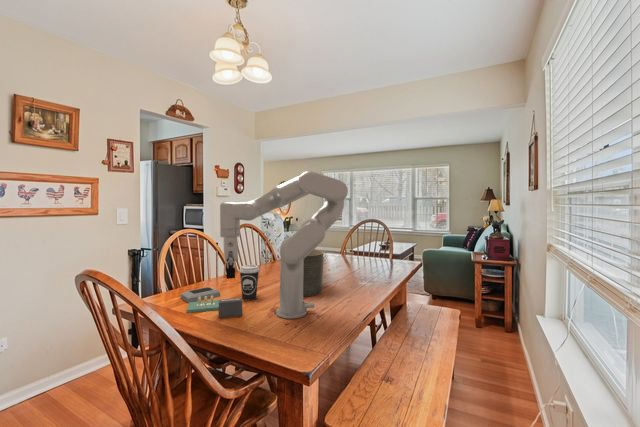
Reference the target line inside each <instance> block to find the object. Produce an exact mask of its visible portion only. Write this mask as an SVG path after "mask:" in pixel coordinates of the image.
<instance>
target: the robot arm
mask: <svg viewBox="0 0 640 427" xmlns="http://www.w3.org/2000/svg"><path fill="white" fill-rule="evenodd" d="M348 194H349V189H348V186H347V184H346V183H345V182H343V181H342V180H340V179H337V178H333V177H331V176H327V175H324V174H321V173H318V172H316V171H315V172H314V171H311V170H307V171H304V172H302V173H301V174H300V175H298V176H295V177H293V178H291V179H290V180H287V181H285V182H283V183H281V184H278V185H276V186H275V187H273V188H272V189H271V190H269V191H268V192H266V193H265V194H263V195H261V196H259V197H257V198H254V199H252V200H250V201H243V202H236V201H224V202H223V201H222V202H221V203H220V205H219V224H220V225H219V228H220V229H219V230H220V232H219V233H220V234H219V235H220V236H219V238H223V256H224V262H225V273H226V274H225V276H226V279H227V280H229V279H235V278H236V267H235V262H236V263H237V262H239V250H238V249H239V244H238V237H239V238H240V237H241V227H240V226H241V222H240V221H241V220H242V221H250V222H251V221H254V220H255V219H257V218H259V217H261V216H263V215H265V214H267V213H270V212H272V211H273V210H277V209H279V208H282V207H283V208H284V207H285V206H287V205H289V204H292V203H293V202H295V201H297V200H300V199H302V198H304V197H307V196H308V195H313V196H316V197H318V198H319V197H320V198H322V199H324V202H323V204H322V206H320V207H319V208H318V209H317V211H316V212H315V213H314V214H312V215H311V216H310V217H309V218H307V219H306V220H305V221H304V222H303V223H302V224H301V226H300V228H298V229H297V231H296V232H295V233H293V234H292V235H291V236H288V237H285V238H284V239H283V240H282V241H281V244H280V247H279V254H280V259H279V261H280V262H279V264H280V266H279V268H280V270H279V307H278V308H277V309H276V311H275V314H276V315H277V317H279V318H281V319H290V320H291V319H292V320H293V319H299V318H303V317H305V316H306V315H307V314H308V313H307V312H308V309H312V308H313V309H315V303H314V302H310V301H306V302H305V301H304V297H303V276H304V258H305V257H306V256H307V255H309V254H310V253H311V252H312V251H313V250H314V249H315V250H316V248H317V247H318V246H319V245H320V244H321V243H322V242H323V241H324V239H325V237H326V232H327V231H328V230H329V229H330V227H332V225H334V224H335V223H336V222H337V221H338V220H339V218H340V217H341V215H342V213H343V211H344V207H345V199H346V197H347V196H348Z"/></svg>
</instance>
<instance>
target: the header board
mask: <svg viewBox="0 0 640 427" xmlns="http://www.w3.org/2000/svg"><path fill="white" fill-rule="evenodd" d="M219 300H220V299H214V298H213V296H211V298H210V300H208V299H207V296H205V300H202V301H201V297H198V301H197V302H189V303H188V306H187V308H186V314H190V313H199V312H200V313H202V312H212V311H213V312H214V311H219Z"/></svg>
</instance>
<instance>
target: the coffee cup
mask: <svg viewBox="0 0 640 427" xmlns="http://www.w3.org/2000/svg"><path fill="white" fill-rule="evenodd" d="M260 271H261V270H260V268H259V266H258V265H256V264H245V265H242V266H240V268H239V271H238V272H239V273H240V274H239V276H240V285H241V286H240V288H241V298H242V300H244V301H252V300H255V299H257V295H258V281H259V273H260Z"/></svg>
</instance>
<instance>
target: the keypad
mask: <svg viewBox="0 0 640 427" xmlns="http://www.w3.org/2000/svg"><path fill="white" fill-rule="evenodd" d="M205 296H207V300H211V296H213V299H214V298H219V297H221V291H219V290H217V289H216V288H214V287H212V286H205V287H201V288H196V289H195V288H194V289H190V290H186V291H184V292H181V293H180V299H181V300H183V301H184V302H186V303H187V304H189V302H198V297H201V301H205Z"/></svg>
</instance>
